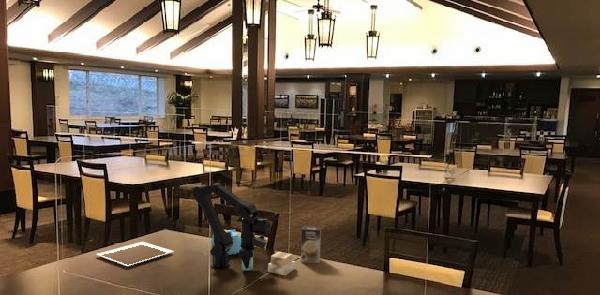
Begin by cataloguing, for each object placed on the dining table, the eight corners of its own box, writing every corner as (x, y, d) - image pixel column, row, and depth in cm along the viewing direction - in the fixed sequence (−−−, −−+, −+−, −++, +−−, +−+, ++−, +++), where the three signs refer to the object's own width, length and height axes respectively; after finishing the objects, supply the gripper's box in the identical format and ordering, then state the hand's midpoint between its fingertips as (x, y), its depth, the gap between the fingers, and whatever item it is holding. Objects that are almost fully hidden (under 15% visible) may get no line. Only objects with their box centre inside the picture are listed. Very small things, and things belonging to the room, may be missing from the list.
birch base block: (267, 272, 200) (268, 263, 200) (277, 266, 208) (278, 258, 208) (285, 276, 196) (285, 267, 196) (295, 269, 204) (295, 261, 204)
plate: (142, 244, 237) (142, 241, 237) (174, 254, 222) (174, 250, 222) (95, 258, 216) (95, 253, 216) (127, 270, 201) (127, 265, 201)
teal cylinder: (239, 269, 199) (239, 256, 199) (245, 265, 204) (245, 253, 203) (249, 271, 197) (249, 258, 197) (255, 267, 202) (255, 254, 201)
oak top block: (270, 263, 200) (270, 256, 200) (278, 258, 206) (278, 251, 206) (284, 266, 197) (284, 258, 197) (292, 261, 203) (292, 254, 203)
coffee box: (300, 262, 213) (300, 229, 211) (301, 258, 219) (302, 225, 217) (319, 263, 212) (320, 230, 210) (320, 258, 218) (321, 226, 217)
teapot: (235, 244, 239) (235, 224, 238) (250, 252, 227) (250, 231, 226) (209, 250, 229) (209, 229, 228) (223, 258, 218) (223, 236, 217)
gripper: (265, 238, 190) (264, 273, 192) (266, 226, 209) (265, 259, 210) (238, 238, 190) (238, 274, 191) (242, 226, 208) (242, 259, 210)
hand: (247, 266), depth 200 cm, fingers closed on teal cylinder, 5 cm apart
